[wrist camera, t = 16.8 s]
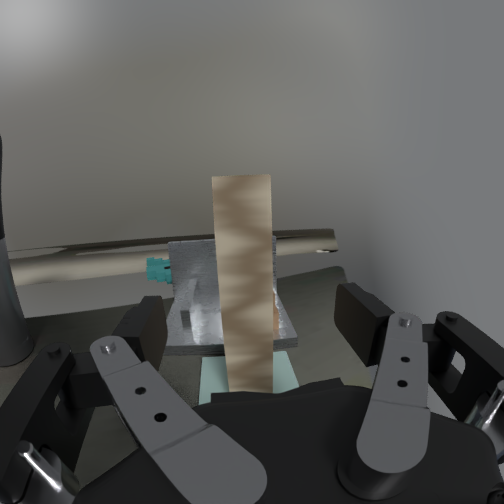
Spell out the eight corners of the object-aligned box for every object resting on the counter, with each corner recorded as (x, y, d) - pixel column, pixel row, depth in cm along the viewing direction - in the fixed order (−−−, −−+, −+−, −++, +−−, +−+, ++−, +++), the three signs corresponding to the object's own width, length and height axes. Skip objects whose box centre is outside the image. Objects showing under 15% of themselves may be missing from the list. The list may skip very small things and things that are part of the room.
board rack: (159, 355, 32) (142, 271, 29) (176, 304, 47) (168, 242, 44) (297, 346, 33) (300, 262, 31) (275, 298, 49) (274, 235, 46)
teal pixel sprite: (147, 265, 73) (148, 290, 55) (146, 258, 73) (146, 280, 55) (214, 256, 80) (235, 277, 62) (214, 249, 80) (235, 268, 62)
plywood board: (230, 403, 23) (211, 176, 18) (228, 366, 28) (214, 178, 24) (272, 399, 23) (270, 174, 18) (263, 363, 29) (258, 176, 24)
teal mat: (199, 424, 21) (197, 418, 21) (203, 363, 30) (202, 357, 30) (306, 414, 22) (307, 408, 21) (285, 357, 31) (285, 350, 31)
